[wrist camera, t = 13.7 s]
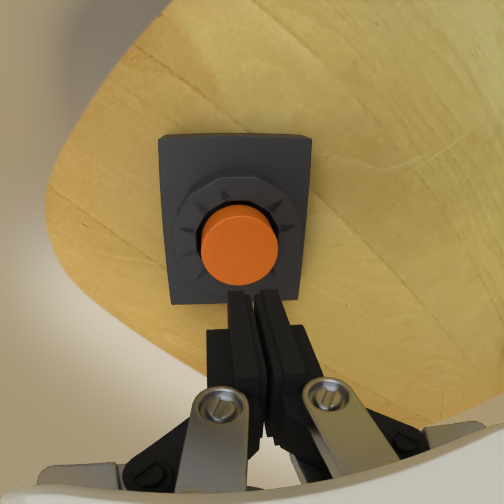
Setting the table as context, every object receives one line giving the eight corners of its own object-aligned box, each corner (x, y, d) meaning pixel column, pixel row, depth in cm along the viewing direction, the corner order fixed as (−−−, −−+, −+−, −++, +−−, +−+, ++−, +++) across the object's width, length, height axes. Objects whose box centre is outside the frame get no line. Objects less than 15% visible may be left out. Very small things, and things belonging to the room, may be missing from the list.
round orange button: (270, 267, 18) (276, 284, 16) (203, 269, 17) (202, 287, 16) (273, 203, 16) (280, 215, 14) (200, 204, 16) (199, 216, 14)
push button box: (290, 282, 22) (305, 316, 19) (174, 286, 22) (168, 322, 18) (301, 134, 18) (323, 142, 15) (164, 134, 17) (151, 142, 14)
